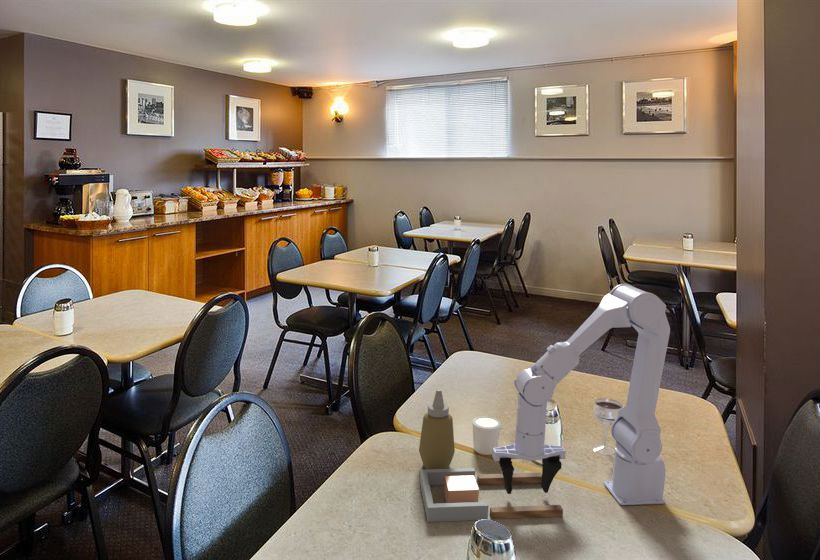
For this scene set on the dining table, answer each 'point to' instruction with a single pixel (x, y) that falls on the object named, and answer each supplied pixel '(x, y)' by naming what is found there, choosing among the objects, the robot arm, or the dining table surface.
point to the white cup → (485, 434)
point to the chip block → (461, 489)
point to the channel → (519, 510)
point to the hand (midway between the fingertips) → (526, 490)
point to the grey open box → (449, 509)
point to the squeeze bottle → (437, 435)
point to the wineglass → (606, 420)
